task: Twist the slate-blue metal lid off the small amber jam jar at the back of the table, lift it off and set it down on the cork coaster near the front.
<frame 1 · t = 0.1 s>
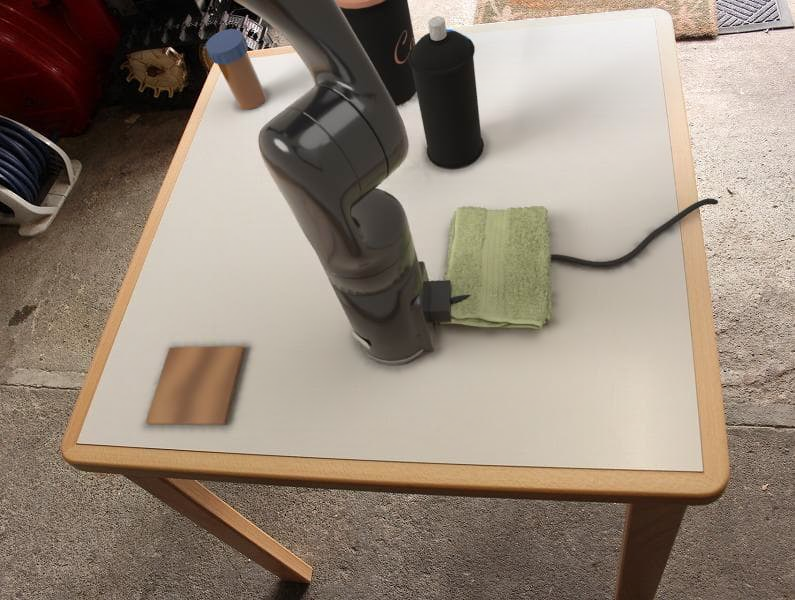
aerosol can: (455, 150, 88), on the table
mat: (197, 385, 74), on the table
coffee jar: (390, 90, 98), on the table
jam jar: (252, 100, 103), on the table
jar lid: (225, 42, 95), point 11 cm above the table, screwed on, not yet turned
washcloth: (498, 272, 75), on the table
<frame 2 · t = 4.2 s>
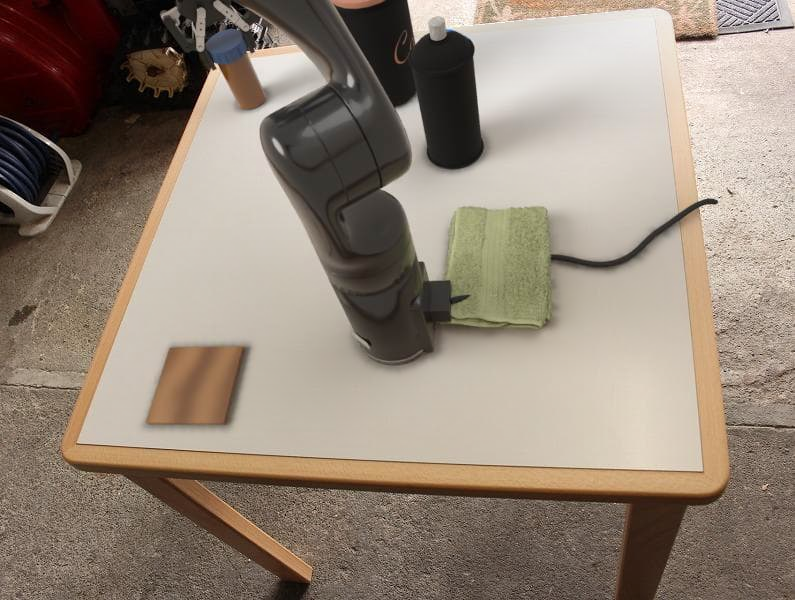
hand: (232, 58, 97), 8 cm above the table, tool pointing down, fingers closed on jar lid, 6 cm apart
jar lid: (225, 42, 95), point 11 cm above the table, screwed on, not yet turned, touching gripper
everything else where it was.
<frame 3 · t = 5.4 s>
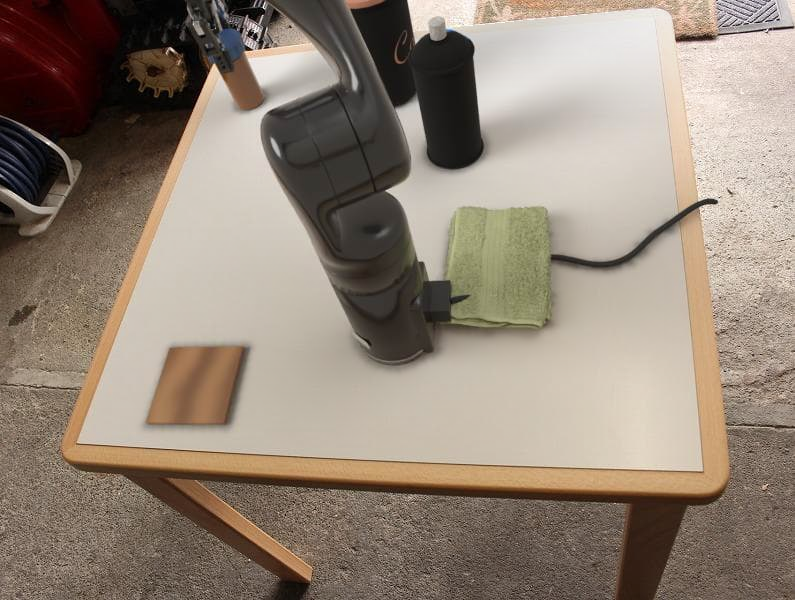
hand: (229, 58, 97), 8 cm above the table, tool pointing down, fingers closed on jar lid, 6 cm apart
jar lid: (222, 42, 94), point 11 cm above the table, turned 68° so far, risen 0.2 cm, still on its thread, touching gripper
everything else where it was.
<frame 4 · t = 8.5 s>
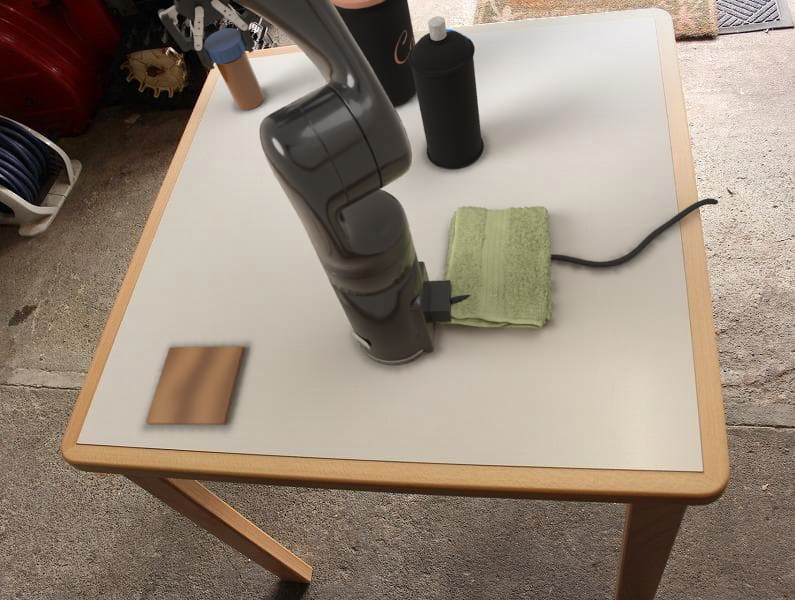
hand: (230, 57, 97), 8 cm above the table, tool pointing down, fingers closed on jar lid, 6 cm apart
jar lid: (223, 41, 94), point 11 cm above the table, turned 77° so far, risen 0.2 cm, still on its thread, touching gripper
everything else where it was.
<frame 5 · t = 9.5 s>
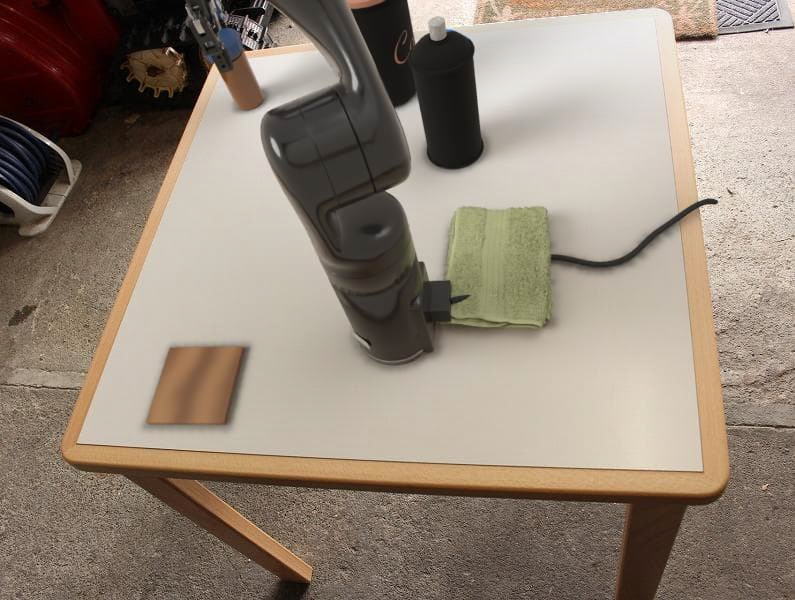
hand: (227, 57, 96), 9 cm above the table, tool pointing down, fingers closed on jar lid, 6 cm apart
jar lid: (220, 41, 94), point 11 cm above the table, off its thread, touching gripper
everything else where it was.
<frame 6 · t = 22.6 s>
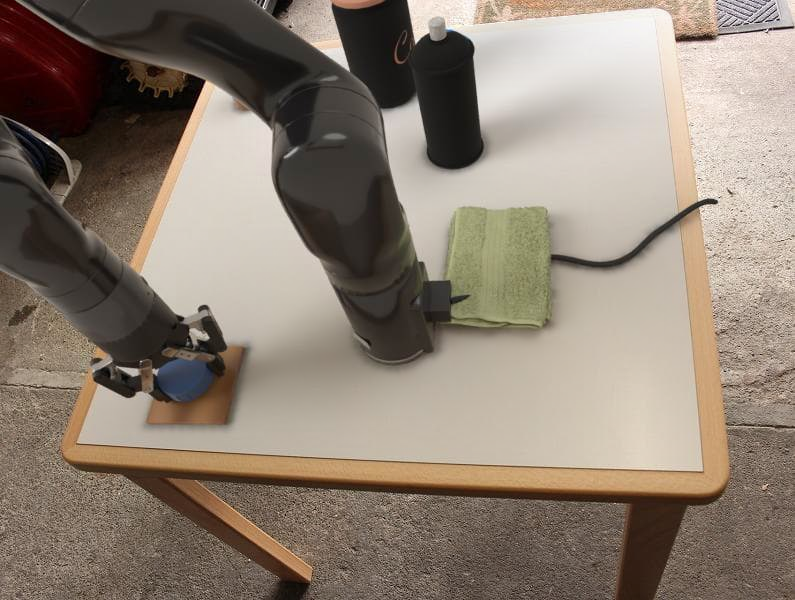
hand: (194, 382, 73), 1 cm above the table, tool pointing down, fingers closed on jar lid, 6 cm apart
jar lid: (182, 371, 71), point 4 cm above the table, off its thread, touching gripper
everything else where it was.
when the fingers open (2 cm above the table, at t = 32.0 s): jar lid drops 2 cm, resting on mat.
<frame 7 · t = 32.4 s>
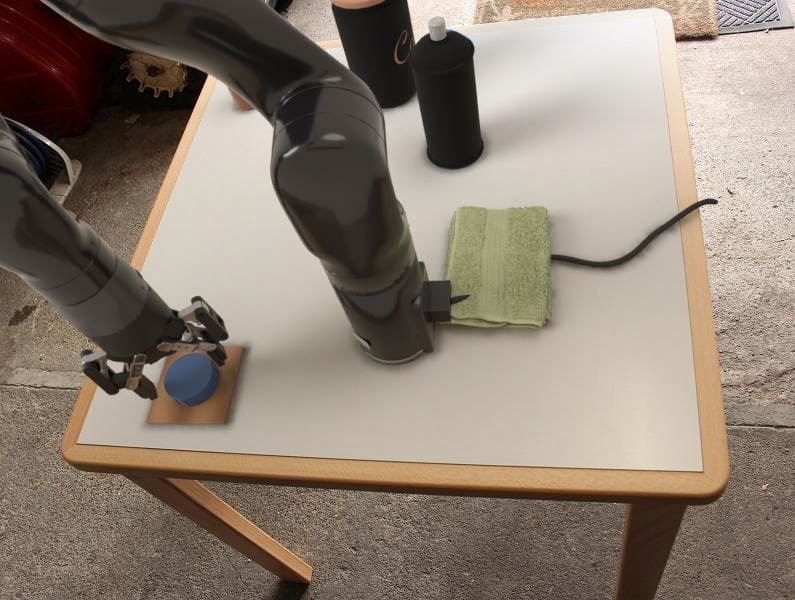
hand: (188, 376, 72), 2 cm above the table, tool pointing down, fingers open, 8 cm apart
jar lid: (189, 376, 72), point 2 cm above the table, off its thread, touching mat
everything else where it was.
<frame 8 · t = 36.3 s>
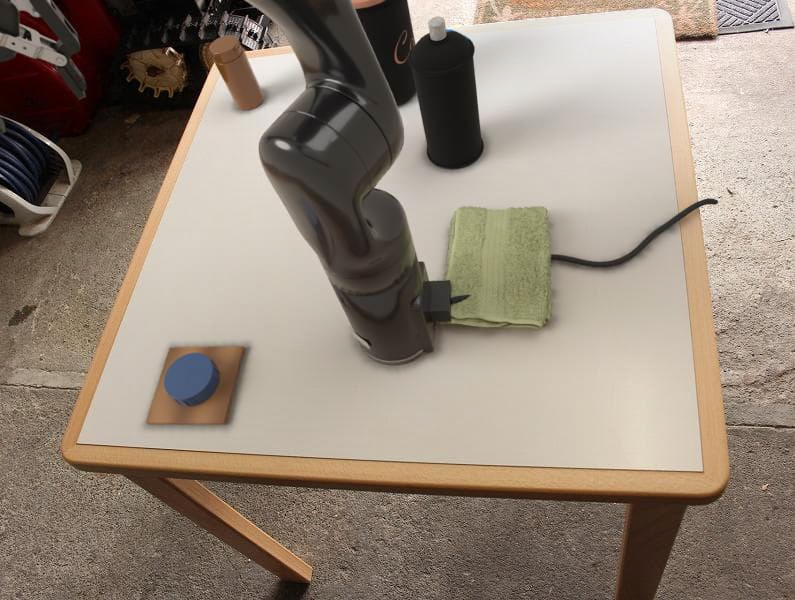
hand: (42, 111, 62), 28 cm above the table, tool pointing down, fingers open, 8 cm apart
nothing on the table moved.
at the end: jar lid came off its thread; jar lid inside the target area on the mat (0.1 cm from its centre), point 2.3 cm above the mat's base; the gripper is holding nothing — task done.
